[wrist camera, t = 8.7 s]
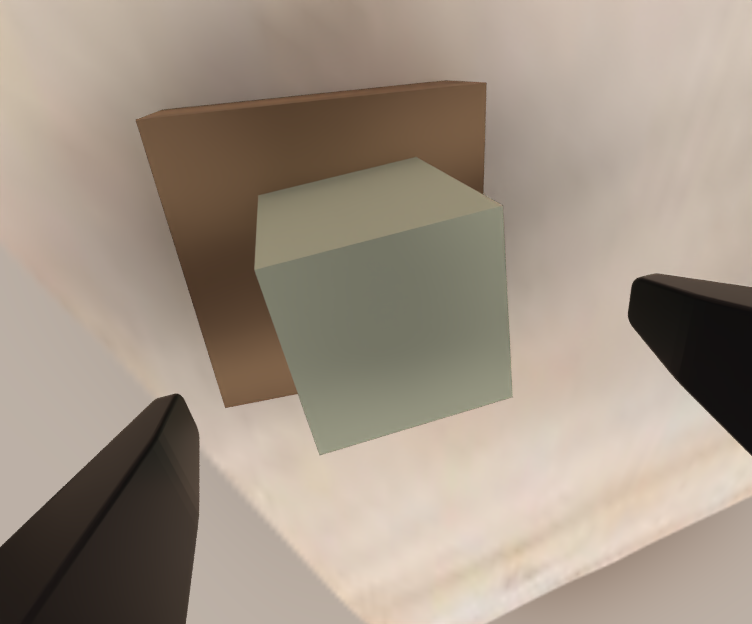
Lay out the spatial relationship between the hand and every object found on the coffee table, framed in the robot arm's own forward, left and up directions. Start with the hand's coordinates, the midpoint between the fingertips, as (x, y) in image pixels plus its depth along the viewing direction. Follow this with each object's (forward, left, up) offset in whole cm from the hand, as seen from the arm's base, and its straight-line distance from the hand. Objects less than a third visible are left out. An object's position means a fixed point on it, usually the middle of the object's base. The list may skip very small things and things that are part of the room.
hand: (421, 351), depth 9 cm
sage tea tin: (-1, 0, -7) cm, 7 cm away
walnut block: (-1, +1, -11) cm, 11 cm away
